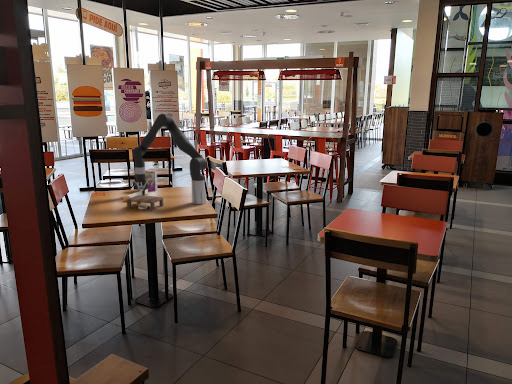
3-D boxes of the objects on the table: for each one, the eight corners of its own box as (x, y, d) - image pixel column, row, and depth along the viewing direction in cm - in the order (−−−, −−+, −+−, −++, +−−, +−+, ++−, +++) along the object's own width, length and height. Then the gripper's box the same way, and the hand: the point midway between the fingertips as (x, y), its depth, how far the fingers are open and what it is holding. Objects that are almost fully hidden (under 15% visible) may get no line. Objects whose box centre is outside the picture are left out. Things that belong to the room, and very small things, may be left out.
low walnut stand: (163, 205, 284) (163, 197, 283) (153, 210, 271) (152, 201, 270) (138, 203, 290) (138, 194, 288) (127, 208, 277) (126, 199, 275)
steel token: (149, 208, 279) (149, 205, 279) (144, 210, 274) (144, 207, 273) (141, 207, 281) (141, 205, 281) (136, 209, 275) (136, 207, 275)
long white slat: (151, 193, 316) (150, 189, 316) (132, 201, 293) (132, 196, 292) (142, 192, 319) (141, 188, 318) (123, 200, 295) (122, 195, 294)
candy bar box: (142, 190, 328) (141, 170, 324) (144, 189, 333) (143, 169, 329) (155, 191, 327) (154, 171, 323) (157, 189, 332) (156, 170, 328)
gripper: (151, 172, 309) (152, 194, 313) (135, 171, 312) (136, 193, 316) (145, 174, 302) (147, 196, 306) (129, 173, 305) (131, 195, 309)
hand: (141, 194), depth 311 cm, fingers closed on long white slat, 2 cm apart
